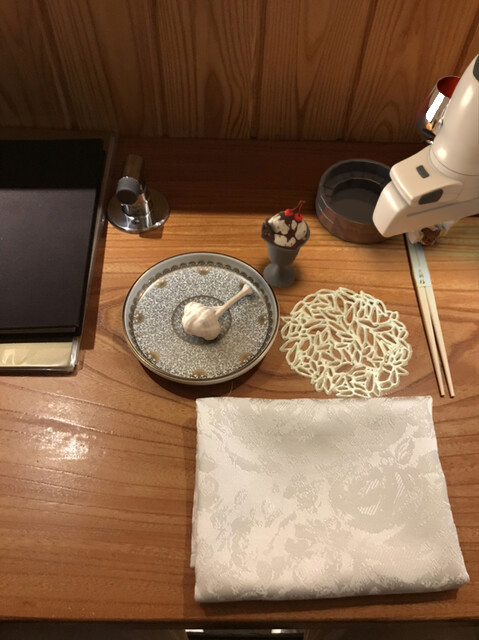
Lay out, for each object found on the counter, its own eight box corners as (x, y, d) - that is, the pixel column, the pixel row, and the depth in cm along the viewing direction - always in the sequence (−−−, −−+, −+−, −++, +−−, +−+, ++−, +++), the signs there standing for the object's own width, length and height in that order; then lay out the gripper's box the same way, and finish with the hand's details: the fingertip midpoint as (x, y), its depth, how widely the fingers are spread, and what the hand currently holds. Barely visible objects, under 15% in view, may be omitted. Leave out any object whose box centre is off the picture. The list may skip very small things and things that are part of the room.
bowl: (377, 173, 97) (385, 151, 93) (417, 234, 90) (427, 212, 86) (301, 191, 94) (305, 168, 90) (336, 255, 87) (342, 233, 83)
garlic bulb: (264, 286, 79) (200, 329, 73) (264, 311, 82) (203, 355, 76) (230, 266, 82) (166, 305, 76) (231, 291, 86) (170, 330, 80)
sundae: (308, 269, 85) (324, 198, 73) (288, 300, 82) (300, 232, 70) (270, 251, 87) (279, 179, 74) (249, 281, 84) (254, 211, 71)
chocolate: (410, 241, 89) (418, 224, 86) (418, 234, 90) (426, 216, 86) (427, 252, 88) (435, 235, 85) (434, 244, 89) (443, 227, 85)
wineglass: (443, 201, 94) (486, 109, 79) (394, 194, 94) (428, 102, 79) (441, 167, 98) (482, 74, 83) (394, 161, 99) (427, 67, 83)
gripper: (510, 138, 79) (473, 207, 91) (380, 168, 75) (359, 236, 87) (536, 168, 76) (494, 235, 88) (402, 201, 72) (377, 267, 84)
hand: (426, 236), depth 88 cm, fingers open, 3 cm apart
